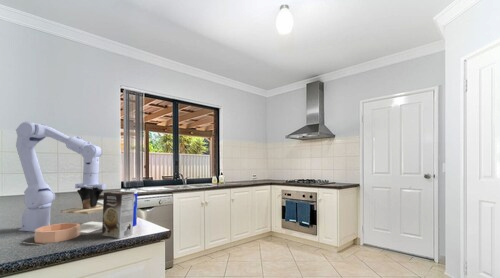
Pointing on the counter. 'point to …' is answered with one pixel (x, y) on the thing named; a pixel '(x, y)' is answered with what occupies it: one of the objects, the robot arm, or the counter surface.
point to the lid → (84, 208)
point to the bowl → (56, 232)
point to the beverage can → (134, 207)
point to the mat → (90, 226)
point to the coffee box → (118, 214)
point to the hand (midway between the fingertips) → (89, 206)
